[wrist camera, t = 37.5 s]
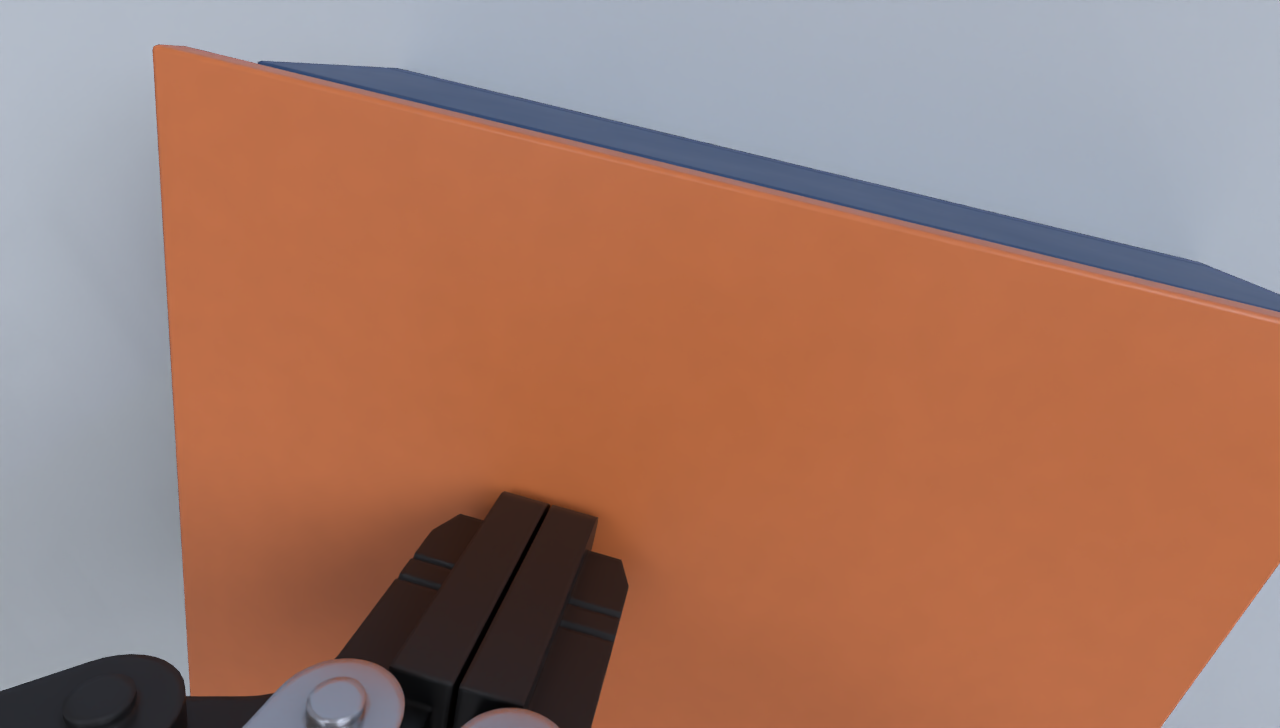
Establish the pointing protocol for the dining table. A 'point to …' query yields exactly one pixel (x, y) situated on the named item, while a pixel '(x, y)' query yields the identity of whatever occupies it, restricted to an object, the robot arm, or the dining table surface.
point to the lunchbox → (793, 179)
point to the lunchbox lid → (693, 420)
